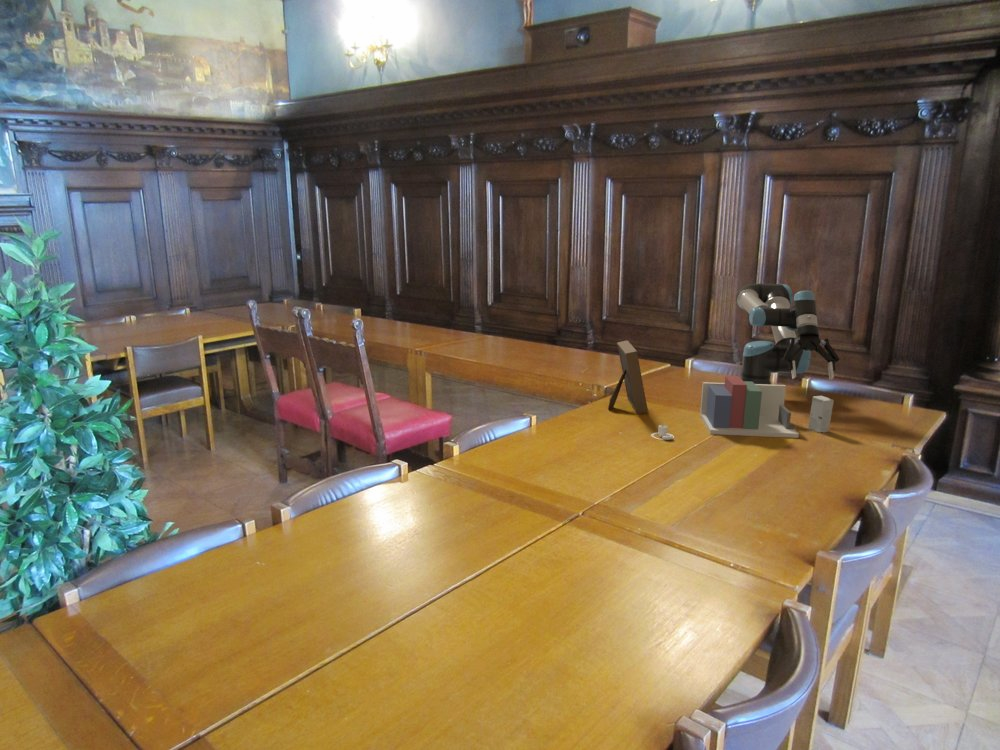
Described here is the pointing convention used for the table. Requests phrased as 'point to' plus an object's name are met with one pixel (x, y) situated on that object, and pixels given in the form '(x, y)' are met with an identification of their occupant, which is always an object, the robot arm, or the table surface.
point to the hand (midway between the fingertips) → (812, 378)
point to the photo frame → (630, 378)
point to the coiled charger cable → (663, 433)
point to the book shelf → (765, 413)
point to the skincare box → (820, 414)
